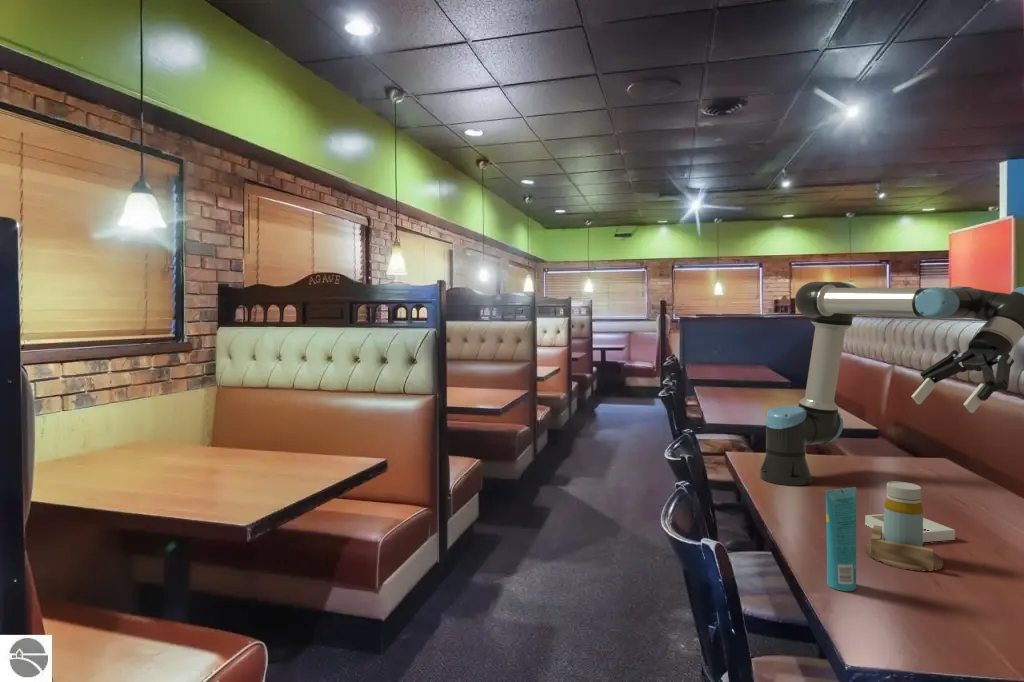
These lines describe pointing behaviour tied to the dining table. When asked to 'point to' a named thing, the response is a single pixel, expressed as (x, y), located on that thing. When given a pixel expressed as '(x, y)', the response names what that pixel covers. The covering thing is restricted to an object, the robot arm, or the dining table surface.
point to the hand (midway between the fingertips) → (940, 404)
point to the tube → (841, 538)
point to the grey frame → (935, 529)
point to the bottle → (903, 514)
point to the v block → (902, 553)
